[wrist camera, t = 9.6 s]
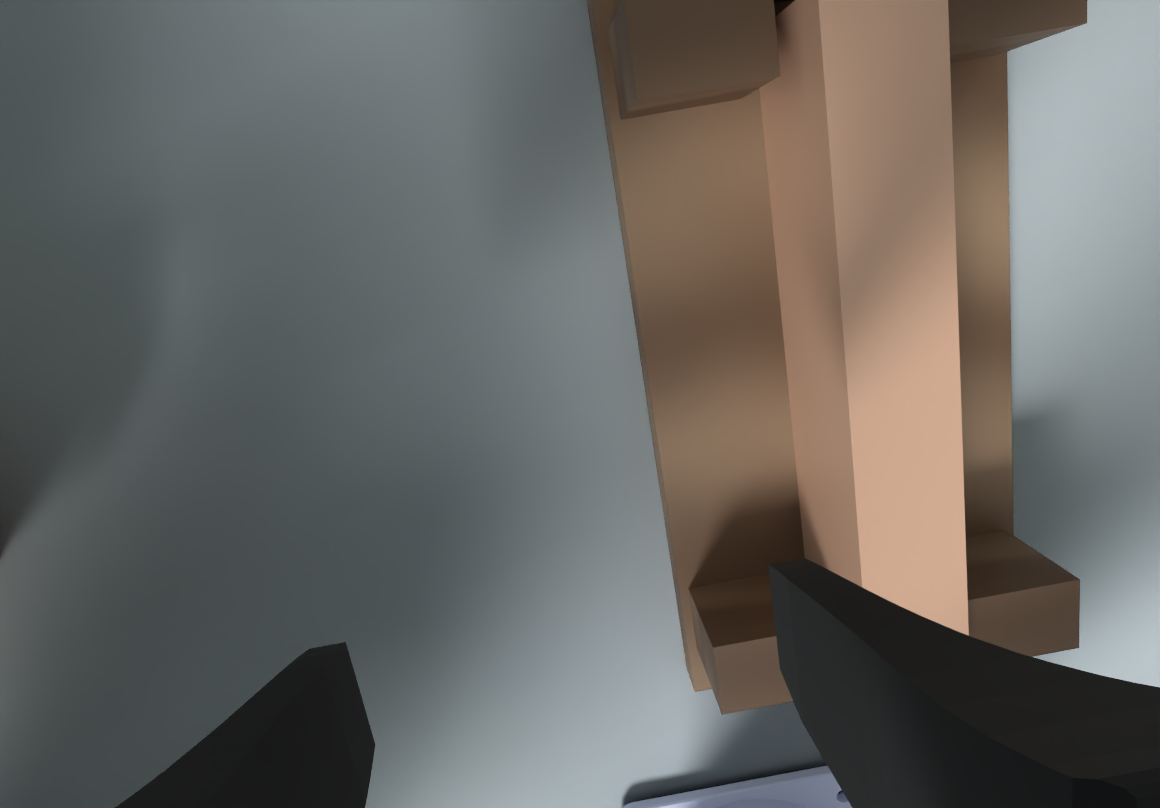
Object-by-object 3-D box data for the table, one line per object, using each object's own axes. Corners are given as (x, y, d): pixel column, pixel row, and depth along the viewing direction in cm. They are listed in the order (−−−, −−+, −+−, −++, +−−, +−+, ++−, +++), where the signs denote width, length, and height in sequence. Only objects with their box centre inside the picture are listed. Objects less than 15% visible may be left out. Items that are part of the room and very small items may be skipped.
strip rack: (990, 611, 23) (1087, 694, 19) (686, 668, 23) (719, 764, 19) (974, -86, 18) (1101, -175, 14) (584, -20, 18) (598, -90, 14)
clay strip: (892, 599, 22) (970, 683, 18) (810, 614, 21) (871, 702, 18) (855, 17, 17) (946, -41, 14) (754, 34, 17) (817, -19, 14)
